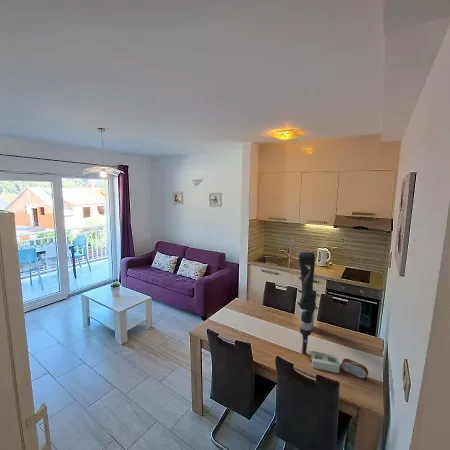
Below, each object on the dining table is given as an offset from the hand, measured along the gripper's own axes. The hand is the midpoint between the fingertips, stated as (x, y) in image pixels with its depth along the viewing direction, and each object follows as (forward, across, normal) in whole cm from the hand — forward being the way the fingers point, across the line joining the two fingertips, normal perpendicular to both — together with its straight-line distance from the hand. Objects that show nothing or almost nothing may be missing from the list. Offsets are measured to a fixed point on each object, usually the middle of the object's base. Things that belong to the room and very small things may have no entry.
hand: (304, 347), depth 176 cm
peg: (+4, 0, 0) cm, 4 cm away
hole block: (+4, +8, +13) cm, 16 cm away
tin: (+4, +11, +30) cm, 32 cm away
